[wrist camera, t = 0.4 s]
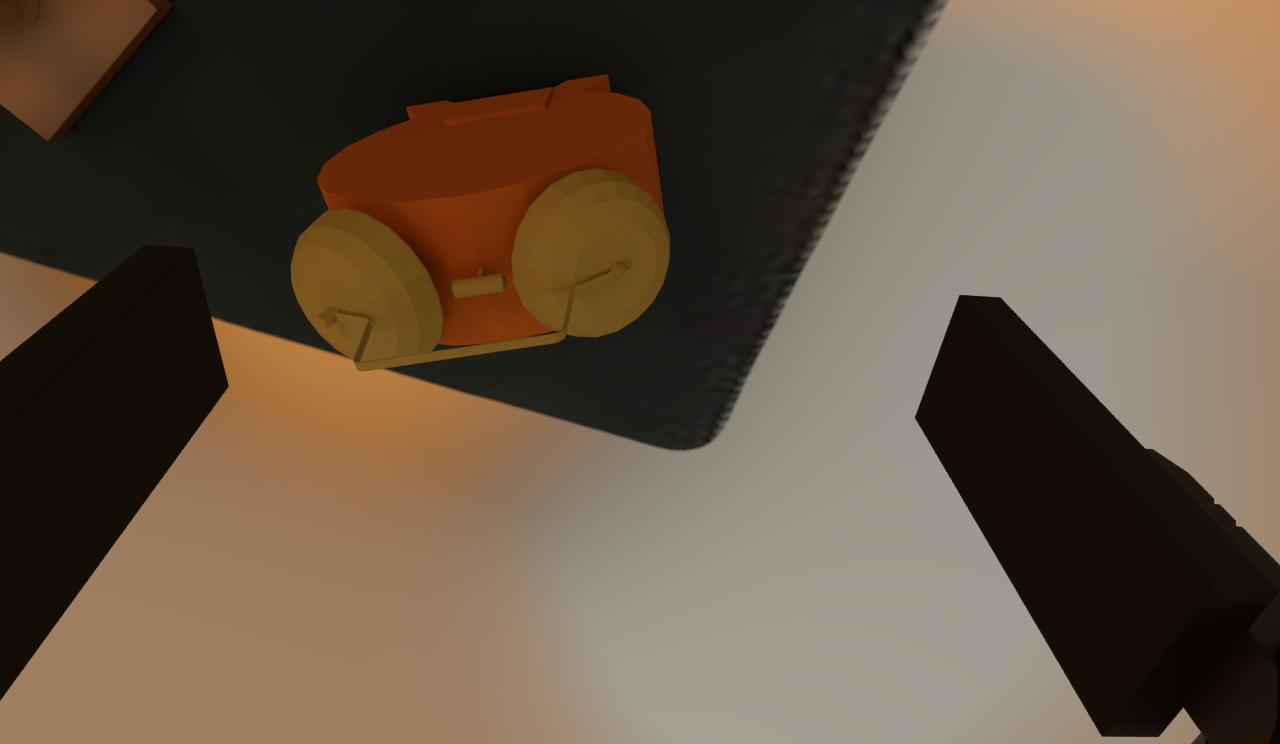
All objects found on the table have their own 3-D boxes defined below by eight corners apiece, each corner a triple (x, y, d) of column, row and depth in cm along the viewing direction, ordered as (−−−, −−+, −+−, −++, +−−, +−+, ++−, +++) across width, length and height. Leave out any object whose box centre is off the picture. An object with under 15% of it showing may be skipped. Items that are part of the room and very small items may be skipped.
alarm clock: (411, 224, 40) (278, 470, 23) (372, 107, 37) (184, 298, 20) (656, 186, 39) (699, 410, 23) (640, 64, 36) (676, 222, 19)
